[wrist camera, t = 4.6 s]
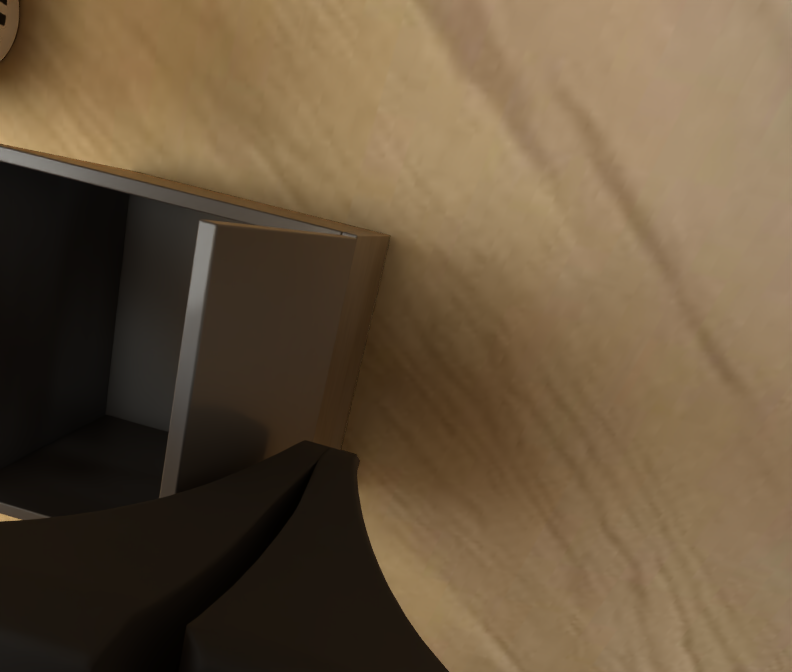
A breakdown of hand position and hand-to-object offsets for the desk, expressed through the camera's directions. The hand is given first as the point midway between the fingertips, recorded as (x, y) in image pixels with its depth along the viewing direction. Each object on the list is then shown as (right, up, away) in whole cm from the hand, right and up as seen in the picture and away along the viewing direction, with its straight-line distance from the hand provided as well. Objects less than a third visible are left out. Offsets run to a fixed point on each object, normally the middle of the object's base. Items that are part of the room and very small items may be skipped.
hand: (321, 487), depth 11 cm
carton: (-5, +3, +10) cm, 11 cm away
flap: (-2, 0, -1) cm, 2 cm away
